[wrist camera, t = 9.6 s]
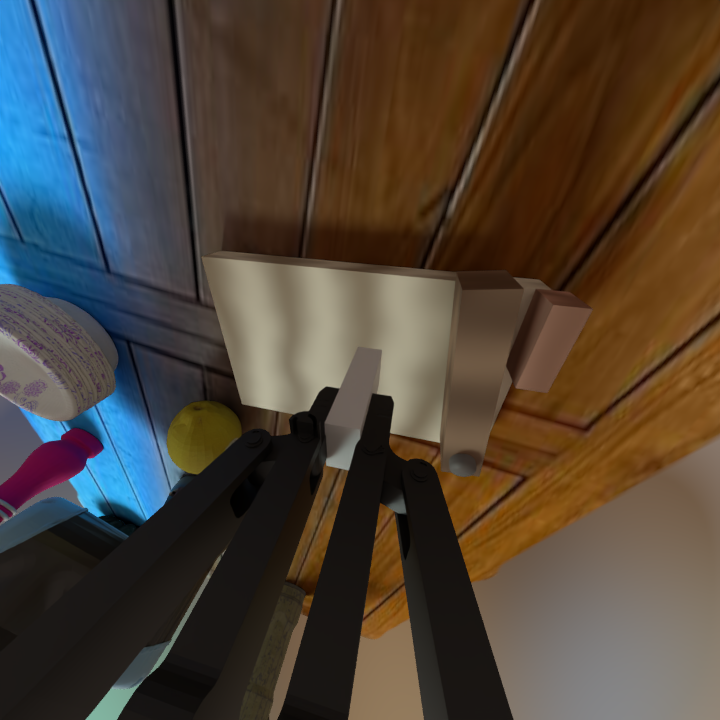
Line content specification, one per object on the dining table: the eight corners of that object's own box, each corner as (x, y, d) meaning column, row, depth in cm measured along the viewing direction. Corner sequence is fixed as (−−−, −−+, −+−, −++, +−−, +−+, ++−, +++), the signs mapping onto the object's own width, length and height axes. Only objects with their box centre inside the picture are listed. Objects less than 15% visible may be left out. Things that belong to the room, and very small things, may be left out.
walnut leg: (472, 438, 25) (480, 482, 21) (439, 435, 26) (441, 477, 22) (506, 269, 17) (527, 292, 13) (456, 271, 18) (463, 293, 14)
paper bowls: (39, 348, 37) (-43, 381, 31) (9, 248, 29) (-114, 265, 22) (140, 400, 39) (82, 443, 32) (140, 320, 30) (60, 356, 24)
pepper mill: (63, 419, 47) (-132, 542, 31) (101, 436, 47) (-73, 566, 31) (74, 443, 51) (-93, 562, 35) (109, 457, 51) (-41, 583, 35)
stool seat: (254, 390, 32) (225, 423, 28) (221, 250, 24) (171, 265, 19) (488, 433, 28) (499, 480, 23) (554, 281, 19) (593, 309, 15)
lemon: (247, 446, 39) (210, 498, 32) (198, 423, 39) (151, 471, 32) (260, 399, 33) (218, 452, 26) (202, 371, 33) (145, 417, 26)
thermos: (309, 601, 72) (229, 874, 43) (268, 585, 73) (162, 845, 44) (314, 592, 67) (227, 894, 38) (270, 575, 68) (152, 861, 39)
